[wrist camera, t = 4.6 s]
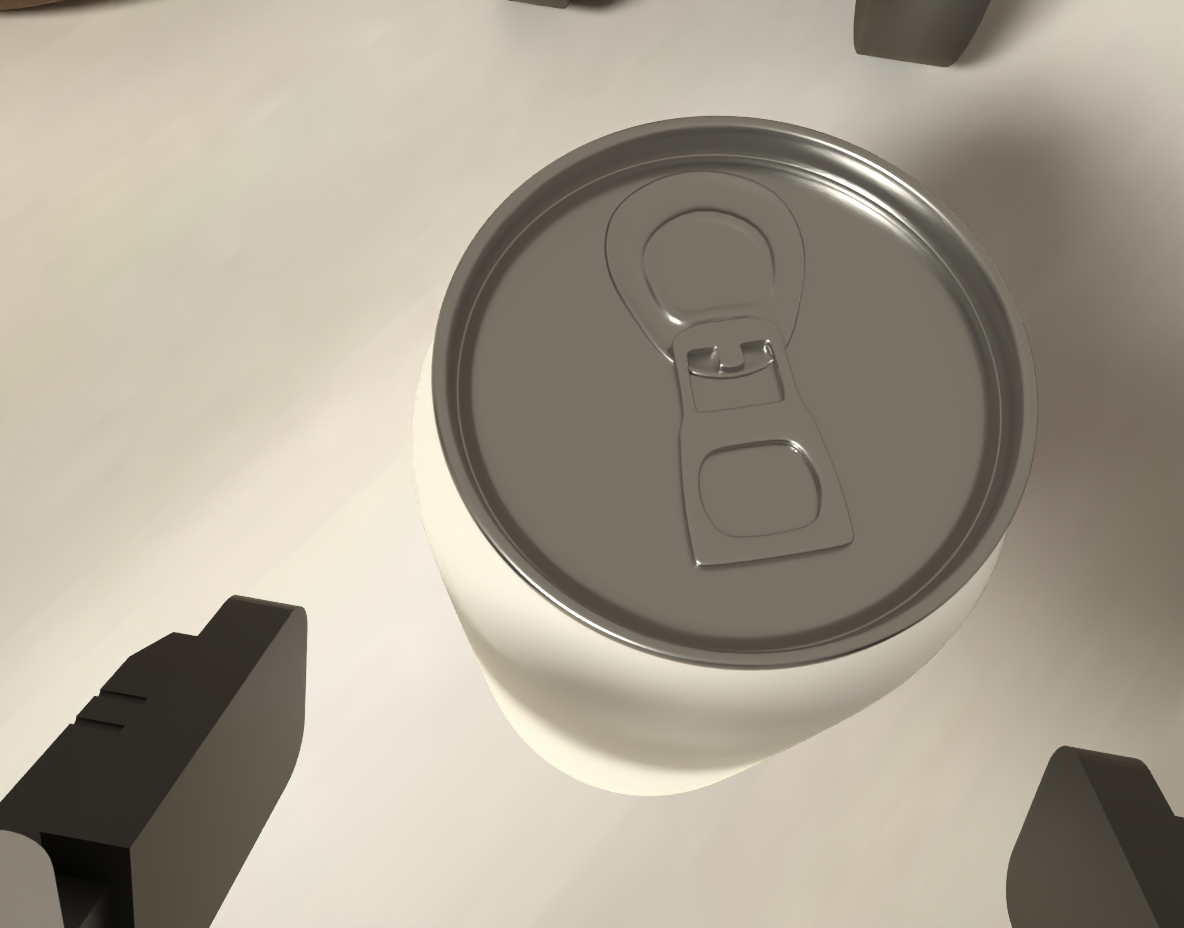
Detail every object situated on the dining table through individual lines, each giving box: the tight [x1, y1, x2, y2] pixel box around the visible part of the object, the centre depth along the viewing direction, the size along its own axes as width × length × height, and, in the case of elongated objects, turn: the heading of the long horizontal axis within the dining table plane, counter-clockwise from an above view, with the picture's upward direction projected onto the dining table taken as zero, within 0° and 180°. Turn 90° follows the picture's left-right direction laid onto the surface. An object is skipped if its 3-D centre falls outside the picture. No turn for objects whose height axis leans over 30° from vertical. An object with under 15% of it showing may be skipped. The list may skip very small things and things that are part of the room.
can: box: [412, 116, 1038, 796], centre depth 15 cm, size 6×6×12 cm
